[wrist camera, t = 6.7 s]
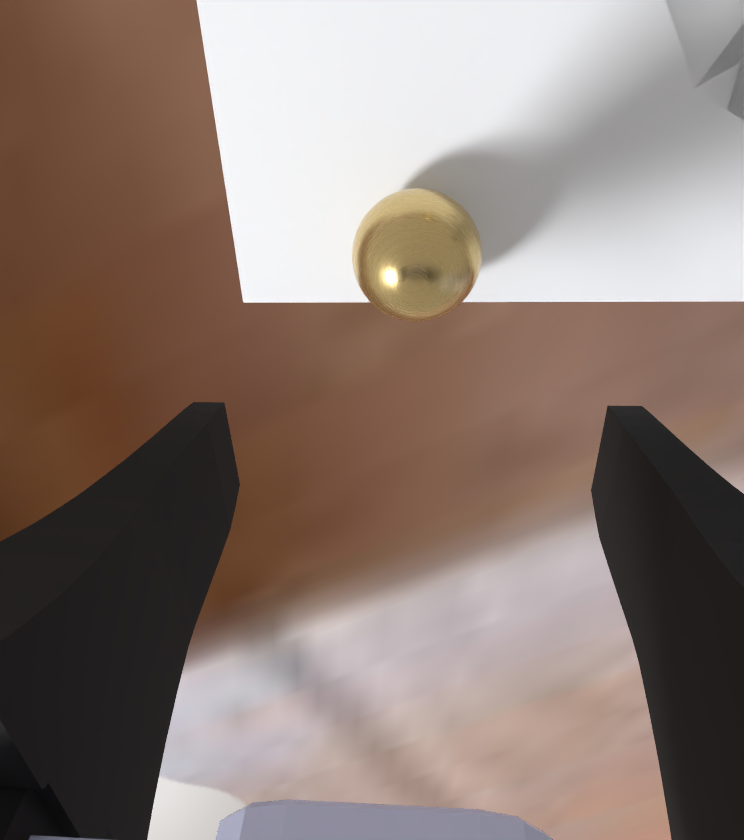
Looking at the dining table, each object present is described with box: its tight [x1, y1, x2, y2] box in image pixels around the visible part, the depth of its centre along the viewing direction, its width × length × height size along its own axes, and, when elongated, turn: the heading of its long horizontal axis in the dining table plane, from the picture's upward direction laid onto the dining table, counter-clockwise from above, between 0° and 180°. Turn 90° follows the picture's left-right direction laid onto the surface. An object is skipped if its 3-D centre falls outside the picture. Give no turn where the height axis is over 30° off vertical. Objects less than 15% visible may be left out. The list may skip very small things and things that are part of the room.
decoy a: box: [352, 188, 482, 322], centre depth 17 cm, size 3×3×3 cm
